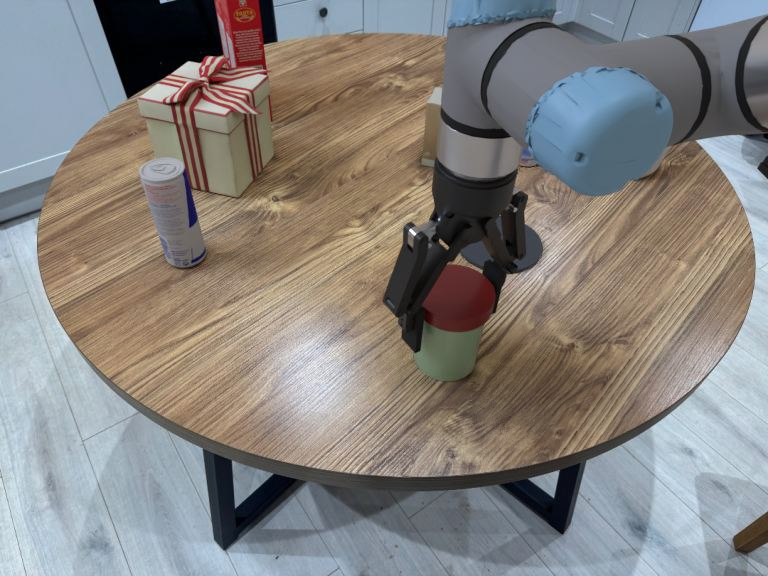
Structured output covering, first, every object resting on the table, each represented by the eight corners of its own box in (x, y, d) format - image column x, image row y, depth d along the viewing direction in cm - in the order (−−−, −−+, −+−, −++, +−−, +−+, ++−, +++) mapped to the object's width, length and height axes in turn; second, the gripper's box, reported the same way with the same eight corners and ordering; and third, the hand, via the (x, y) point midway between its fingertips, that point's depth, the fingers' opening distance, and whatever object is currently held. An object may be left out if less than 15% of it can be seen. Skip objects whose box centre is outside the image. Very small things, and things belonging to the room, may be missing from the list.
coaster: (560, 254, 85) (561, 251, 85) (493, 285, 80) (494, 282, 79) (502, 209, 93) (503, 206, 92) (438, 234, 87) (439, 231, 87)
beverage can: (212, 261, 82) (190, 172, 71) (173, 274, 79) (144, 185, 69) (200, 239, 85) (177, 151, 74) (162, 251, 83) (133, 162, 72)
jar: (489, 364, 70) (504, 304, 62) (437, 391, 67) (447, 332, 59) (450, 323, 74) (460, 263, 67) (401, 347, 71) (405, 287, 64)
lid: (397, 298, 64) (398, 287, 63) (452, 265, 68) (454, 253, 67) (454, 345, 60) (456, 333, 58) (508, 306, 64) (512, 294, 62)
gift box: (263, 203, 92) (248, 103, 80) (156, 187, 94) (126, 87, 82) (295, 149, 104) (286, 55, 92) (200, 136, 106) (180, 43, 94)
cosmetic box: (429, 148, 106) (435, 85, 97) (452, 152, 105) (460, 89, 96) (420, 166, 101) (425, 101, 93) (444, 171, 100) (451, 106, 92)
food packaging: (272, 121, 111) (256, -19, 94) (246, 125, 110) (224, -16, 92) (254, 89, 121) (236, -43, 103) (230, 92, 119) (207, -41, 102)
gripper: (539, 112, 58) (502, 271, 73) (344, 176, 49) (348, 343, 64) (596, 145, 54) (543, 307, 69) (393, 223, 44) (385, 390, 60)
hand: (449, 324), depth 67 cm, fingers open, 10 cm apart
